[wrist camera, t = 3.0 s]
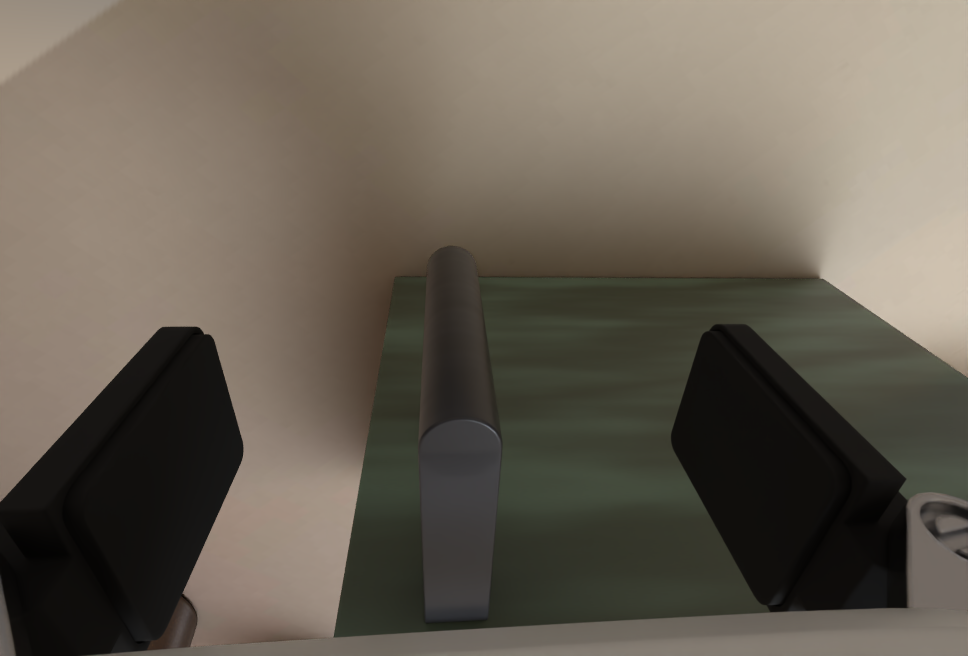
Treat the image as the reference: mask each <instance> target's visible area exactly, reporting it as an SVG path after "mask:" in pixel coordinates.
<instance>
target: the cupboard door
mask: <svg viewBox="0 0 968 656" xmlns="http://www.w3.org/2000/svg"><path fill="white" fill-rule="evenodd" d="M715 324H746V325H748V326H749V327H751V328H752V329H753V330H754V331H755V332H756V333H757V334H758V335H759V336H760V337H761V338H762V339H763V340H764V341H765V342H766V343H767V344H768V345H769V346H770V347H771V348H772V349H773V350H774V351H775V352H776V353H777V354H778V355H780V356H781V357H782V358H783V359H784V360H785V361H786V362H787V363H788V364H789V365H790V366H791V367H792V368H793V369H794V370H795V371H796V372H797V373H798V374H799V375H800V376H801V377H802V378H803V379H804V380H805V381H806V382H807V383H808V384H809V385H810V386H811V387H813V388H814V389H815V390H816V391H817V392H818V393H819V394H820V395H821V396H822V397H823V398H824V399H825V400H826V401H827V402H828V403H829V404H830V405H831V406H832V407H833V408H834V409H835V410H836V411H837V412H838V413H839V414H840V415H841V416H842V417H843V418H844V419H845V420H847V421H848V422H849V423H850V424H851V425H852V426H853V427H854V428H855V429H856V430H857V431H858V432H859V433H860V434H861V435H862V436H863V437H864V438H865V439H866V440H867V441H868V442H869V443H870V444H871V445H872V446H873V447H874V448H875V449H876V450H877V451H878V452H880V453H881V454H882V455H883V456H884V457H885V458H886V459H887V460H888V461H889V462H890V463H891V464H892V465H893V466H894V467H895V468H896V469H897V470H898V471H899V472H900V473H901V474H902V475H903V476H904V477H905V478H906V481H905V482H904V484H903V485H902V487H901V488H900V490H899V492H900V493H901V494H902V495H903V496H904V497H905V498H906V499H907V500H909V499H910V498H911V497H913V496H914V495H916V494H917V493H926V492H934V493H941V494H947V495H951V496H954V497H957V498H960V499H964V500H966V501H968V378H967V377H966V376H964V375H963V374H961V373H960V372H958V371H957V370H956V369H954V368H953V367H951V366H950V365H948V364H947V363H945V362H944V361H942V360H941V359H939V358H938V357H937V356H935V355H934V354H932V353H931V352H929V351H928V350H926V349H925V348H923V347H922V346H920V345H919V344H918V343H916V342H915V341H913V340H912V339H910V338H909V337H907V336H906V335H904V334H903V333H902V332H900V331H899V330H897V329H896V328H894V327H893V326H891V325H890V324H888V323H887V322H885V321H884V320H883V319H881V318H880V317H878V316H877V315H875V314H874V313H872V312H871V311H869V310H868V309H866V308H865V307H864V306H862V305H861V304H859V303H858V302H856V301H855V300H853V299H852V298H850V297H849V296H848V295H846V294H845V293H843V292H842V291H840V290H839V289H837V288H836V287H834V286H833V285H831V284H830V283H829V282H827V281H826V280H824V279H765V278H535V277H478V272H477V266H476V262H475V259H474V257H473V256H472V255H471V254H470V253H469V252H468V251H467V250H465V249H463V248H461V247H457V246H447V247H443V248H440V249H439V250H437V251H436V252H434V253H433V254H432V256H431V257H430V259H429V261H428V264H427V277H395V280H394V286H393V292H392V298H391V304H390V310H389V315H388V321H387V327H386V333H385V339H384V345H383V351H382V356H381V362H380V368H379V374H378V380H377V386H376V392H375V397H374V403H373V409H372V415H371V421H370V427H369V433H368V438H367V444H366V450H365V456H364V462H363V468H362V473H361V479H360V485H359V491H358V497H357V503H356V509H355V514H354V520H353V526H352V532H351V538H350V544H349V550H348V555H347V561H346V567H345V573H344V579H343V585H342V590H341V596H340V602H339V608H338V614H337V620H336V626H335V631H334V637H333V638H337V637H352V636H368V635H384V634H399V633H416V632H433V631H450V630H466V629H483V628H500V627H517V626H534V625H551V624H569V623H586V622H603V621H621V620H640V619H658V618H677V617H696V616H715V615H734V614H753V613H770V611H769V609H768V607H767V605H762V604H760V603H759V602H758V601H757V600H756V598H755V597H754V595H753V593H752V591H751V590H750V588H749V586H748V584H747V582H746V581H745V579H744V577H743V575H742V573H741V572H740V570H739V568H738V566H737V564H736V563H735V561H734V559H733V557H732V555H731V553H730V552H729V550H728V548H727V546H726V544H725V543H724V541H723V539H722V537H721V535H720V534H719V532H718V530H717V528H716V526H715V524H714V523H713V521H712V519H711V517H710V515H709V514H708V512H707V510H706V508H705V506H704V505H703V503H702V501H701V499H700V497H699V496H698V494H697V492H696V490H695V488H694V486H693V485H692V483H691V481H690V479H689V477H688V476H687V474H686V472H685V470H684V468H683V467H682V465H681V463H680V461H679V459H678V458H677V456H676V454H675V452H674V450H673V448H672V444H671V432H672V428H673V425H674V422H675V419H676V416H677V412H678V409H679V406H680V403H681V400H682V396H683V393H684V390H685V387H686V383H687V380H688V377H689V374H690V371H691V367H692V364H693V361H694V358H695V355H696V351H697V348H698V345H699V342H700V339H701V336H702V334H703V333H704V332H706V331H709V330H710V329H711V327H712V326H713V325H715Z"/></svg>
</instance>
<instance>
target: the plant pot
mask: <svg viewBox="0 0 968 656" xmlns="http://www.w3.org/2000/svg"><path fill="white" fill-rule="evenodd" d="M196 626H197V616H196V613H195V611H194V609H193V607H192V606H191V605H190V604H189V603H188V602H187V601H186V600H185V599H184V598H183V597H182V596H181V597H180V600H179V602H178V604H177V606H176V608H175V611H174V613H173V615H172V617H171V620H170V622H169V624H168V626H167V628H166V630H165V632H164V634H163V635H162V636H161V637H160V638H159V639H158V640H153V641H151V642H150V645H149V647H148V649H147V651H149V650H161V649H174V648H186V647H190V645H191V642H192V639H193V636H194V633H195V629H196Z"/></svg>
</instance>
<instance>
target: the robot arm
mask: <svg viewBox="0 0 968 656" xmlns="http://www.w3.org/2000/svg"><path fill="white" fill-rule="evenodd" d="M671 444H672V448H673V450H674V452H675V454H676V456H677V458H678V459H679V461H680V463H681V465H682V467H683V468H684V470H685V472H686V474H687V476H688V477H689V479H690V481H691V483H692V485H693V486H694V488H695V490H696V492H697V494H698V496H699V497H700V499H701V501H702V503H703V505H704V506H705V508H706V510H707V512H708V514H709V515H710V517H711V519H712V521H713V523H714V524H715V526H716V528H717V530H718V532H719V534H720V535H721V537H722V539H723V541H724V543H725V544H726V546H727V548H728V550H729V552H730V553H731V555H732V557H733V559H734V561H735V563H736V564H737V566H738V568H739V570H740V572H741V573H742V575H743V577H744V579H745V581H746V582H747V584H748V586H749V588H750V590H751V591H752V593H753V595H754V597H755V598H756V600H757V601H758V602H759V603H760V604H762V605H767V607H768V609H769V611H770V613H753V614H734V615H715V616H696V617H677V618H658V619H640V620H621V621H603V622H586V623H569V624H551V625H534V626H517V627H500V628H483V629H466V630H450V631H433V632H416V633H399V634H384V635H368V636H352V637H337V638H321V639H305V640H290V641H274V642H259V643H243V644H227V645H212V646H198V647H186V648H174V649H161V650H149V651H147V649H148V647H149V645H150V642H151V641H153V640H158V639H159V638H160V637H161V636H162V635H163V634H164V632H165V630H166V628H167V626H168V624H169V622H170V620H171V617H172V615H173V613H174V611H175V608H176V606H177V604H178V602H179V600H180V597H181V595H182V593H183V591H184V588H185V586H186V584H187V582H188V580H189V577H190V575H191V573H192V571H193V568H194V566H195V564H196V562H197V560H198V557H199V555H200V553H201V551H202V548H203V546H204V544H205V542H206V540H207V537H208V535H209V533H210V531H211V528H212V526H213V524H214V522H215V520H216V517H217V515H218V513H219V511H220V508H221V506H222V504H223V502H224V500H225V497H226V495H227V493H228V491H229V488H230V486H231V484H232V482H233V479H234V477H235V475H236V473H237V471H238V468H239V466H240V464H241V461H242V458H243V441H242V438H241V434H240V431H239V427H238V423H237V420H236V416H235V413H234V409H233V406H232V402H231V399H230V395H229V392H228V388H227V384H226V381H225V377H224V374H223V370H222V367H221V363H220V360H219V356H218V352H217V349H216V345H215V342H214V339H213V338H212V336H211V335H209V334H204V333H203V331H202V330H201V329H200V328H198V327H162V328H160V329H159V330H158V331H157V332H156V333H155V334H154V335H153V336H152V337H151V338H150V340H149V341H148V342H147V343H146V344H145V345H144V346H143V347H142V348H141V349H140V350H139V352H138V353H137V354H136V355H135V356H134V357H133V358H132V359H131V360H130V361H129V362H128V364H127V365H126V366H125V367H124V368H123V369H122V370H121V371H120V372H119V373H118V374H117V376H116V377H115V378H114V379H113V380H112V381H111V382H110V383H109V384H108V385H107V386H106V388H105V389H104V390H103V391H102V392H101V393H100V394H99V395H98V396H97V397H96V398H95V400H94V401H93V402H92V403H91V404H90V405H89V406H88V407H87V408H86V409H85V410H84V412H83V413H82V414H81V415H80V416H79V417H78V418H77V419H76V420H75V421H74V423H73V424H72V425H71V426H70V427H69V428H68V429H67V430H66V431H65V432H64V433H63V435H62V436H61V437H60V438H59V439H58V440H57V441H56V442H55V443H54V444H53V445H52V447H51V448H50V449H49V450H48V451H47V452H46V453H45V454H44V455H43V456H42V457H41V459H40V460H39V461H38V462H37V463H36V464H35V465H34V466H33V467H32V468H31V469H30V471H29V472H28V473H27V474H26V475H25V476H24V477H23V478H22V479H21V480H20V481H19V483H18V484H17V485H16V486H15V487H14V488H13V489H12V490H11V491H10V492H9V493H8V495H7V496H6V497H5V498H4V499H3V500H2V501H1V502H0V656H968V501H966V500H964V499H960V498H957V497H954V496H951V495H947V494H941V493H934V492H926V493H917V494H916V495H914V496H913V497H911V498H910V499H909V500H907V499H906V498H905V497H904V496H903V495H902V494H901V493H900V492H899V490H900V488H901V487H902V485H903V484H904V482H905V481H906V478H905V477H904V476H903V475H902V474H901V473H900V472H899V471H898V470H897V469H896V468H895V467H894V466H893V465H892V464H891V463H890V462H889V461H888V460H887V459H886V458H885V457H884V456H883V455H882V454H881V453H880V452H878V451H877V450H876V449H875V448H874V447H873V446H872V445H871V444H870V443H869V442H868V441H867V440H866V439H865V438H864V437H863V436H862V435H861V434H860V433H859V432H858V431H857V430H856V429H855V428H854V427H853V426H852V425H851V424H850V423H849V422H848V421H847V420H845V419H844V418H843V417H842V416H841V415H840V414H839V413H838V412H837V411H836V410H835V409H834V408H833V407H832V406H831V405H830V404H829V403H828V402H827V401H826V400H825V399H824V398H823V397H822V396H821V395H820V394H819V393H818V392H817V391H816V390H815V389H814V388H813V387H811V386H810V385H809V384H808V383H807V382H806V381H805V380H804V379H803V378H802V377H801V376H800V375H799V374H798V373H797V372H796V371H795V370H794V369H793V368H792V367H791V366H790V365H789V364H788V363H787V362H786V361H785V360H784V359H783V358H782V357H781V356H780V355H778V354H777V353H776V352H775V351H774V350H773V349H772V348H771V347H770V346H769V345H768V344H767V343H766V342H765V341H764V340H763V339H762V338H761V337H760V336H759V335H758V334H757V333H756V332H755V331H754V330H753V329H752V328H751V327H749V326H748V325H746V324H715V325H713V326H712V327H711V329H710V330H709V331H706V332H704V333H703V334H702V336H701V339H700V342H699V345H698V348H697V351H696V355H695V358H694V361H693V364H692V367H691V371H690V374H689V377H688V380H687V383H686V387H685V390H684V393H683V396H682V400H681V403H680V406H679V409H678V412H677V416H676V419H675V422H674V425H673V428H672V432H671Z"/></svg>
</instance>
